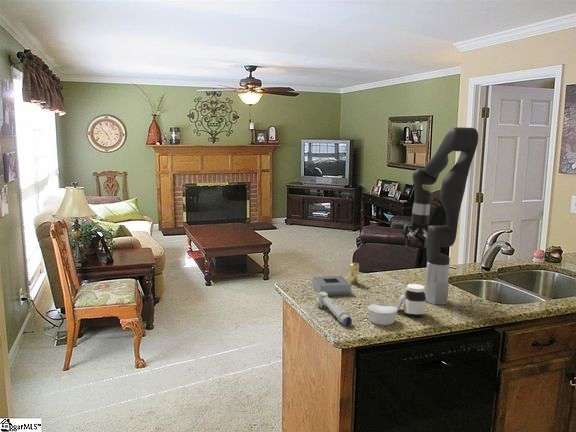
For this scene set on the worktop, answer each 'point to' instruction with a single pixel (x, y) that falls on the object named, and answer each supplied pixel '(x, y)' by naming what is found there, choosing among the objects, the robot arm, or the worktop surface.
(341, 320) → the grey blue-tipped handle
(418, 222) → the robot arm
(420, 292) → the spread jar
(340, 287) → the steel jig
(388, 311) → the ramekin
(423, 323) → the worktop surface
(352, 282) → the brass bushing
